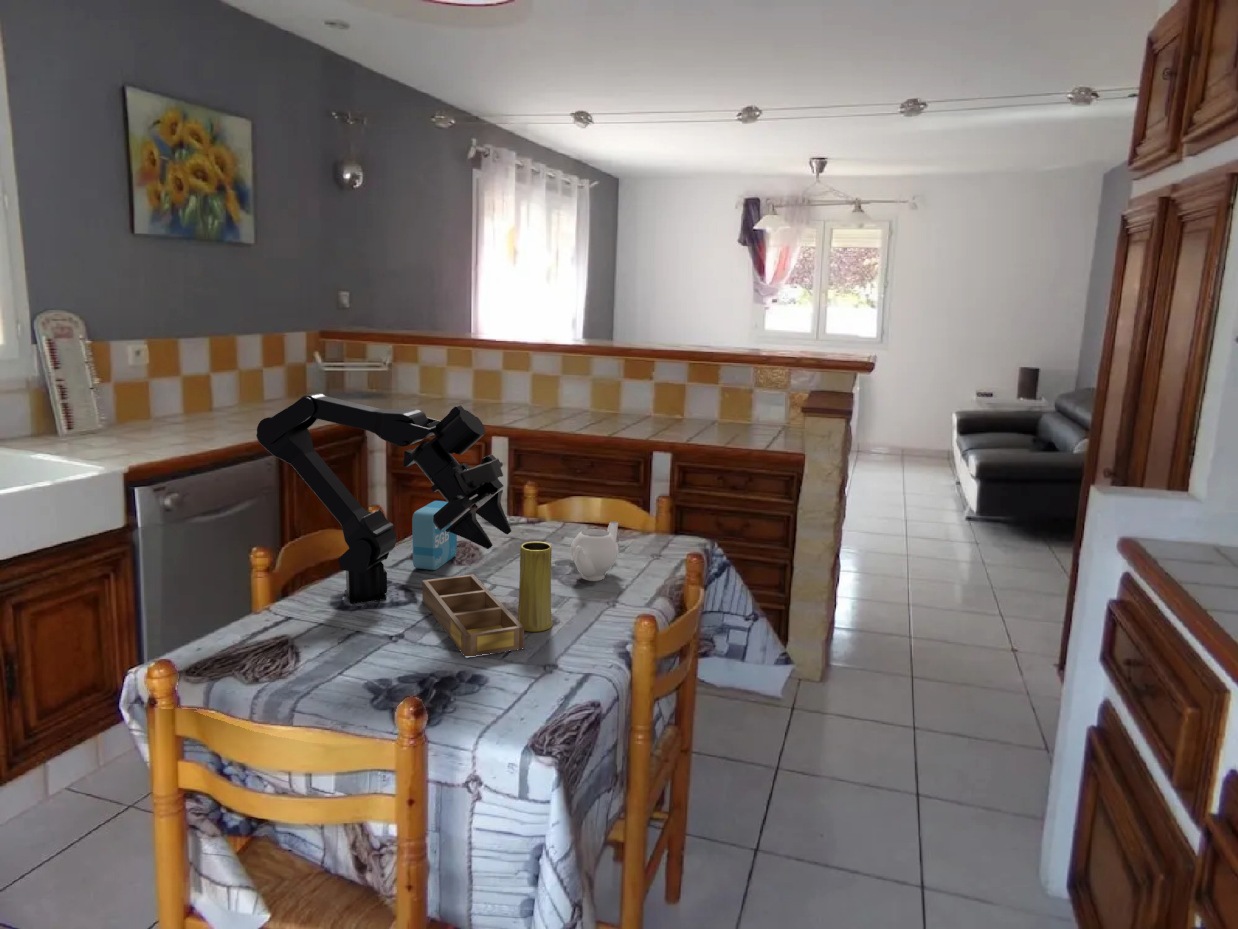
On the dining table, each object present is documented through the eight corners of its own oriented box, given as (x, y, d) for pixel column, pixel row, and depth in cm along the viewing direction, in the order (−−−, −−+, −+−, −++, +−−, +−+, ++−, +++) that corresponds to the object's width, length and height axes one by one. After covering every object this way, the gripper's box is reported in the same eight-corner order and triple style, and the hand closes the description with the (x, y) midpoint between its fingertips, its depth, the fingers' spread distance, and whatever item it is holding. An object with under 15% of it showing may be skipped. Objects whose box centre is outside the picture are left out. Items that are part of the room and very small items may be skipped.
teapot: (549, 588, 167) (550, 541, 165) (593, 559, 185) (595, 518, 183) (593, 596, 163) (595, 549, 161) (634, 567, 181) (636, 524, 179)
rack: (464, 659, 134) (464, 636, 134) (421, 600, 158) (421, 580, 158) (524, 649, 139) (524, 627, 138) (473, 593, 163) (473, 574, 162)
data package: (433, 572, 173) (432, 514, 171) (412, 570, 174) (411, 512, 172) (457, 555, 185) (457, 500, 182) (437, 553, 186) (437, 498, 183)
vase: (534, 616, 153) (536, 538, 150) (559, 625, 149) (561, 546, 146) (509, 625, 148) (510, 545, 145) (534, 635, 145) (536, 553, 142)
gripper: (453, 452, 139) (514, 527, 139) (495, 433, 157) (549, 500, 157) (407, 493, 143) (467, 566, 143) (453, 470, 160) (506, 535, 160)
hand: (500, 540), depth 151 cm, fingers open, 9 cm apart
